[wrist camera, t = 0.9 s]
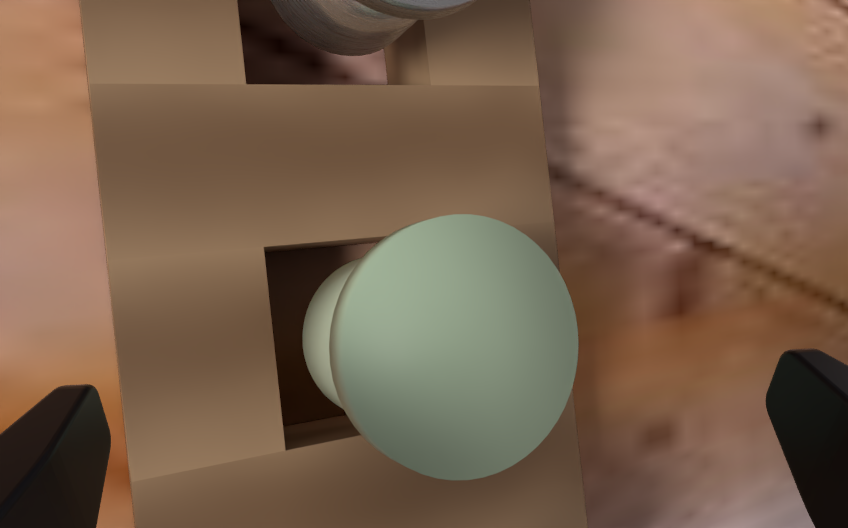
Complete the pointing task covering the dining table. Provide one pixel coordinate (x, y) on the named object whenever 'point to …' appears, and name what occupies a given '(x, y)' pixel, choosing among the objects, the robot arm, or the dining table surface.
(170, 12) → the walnut board
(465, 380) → the sage plug
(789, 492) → the dining table surface
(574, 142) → the dining table surface
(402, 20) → the plunger
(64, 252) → the dining table surface
